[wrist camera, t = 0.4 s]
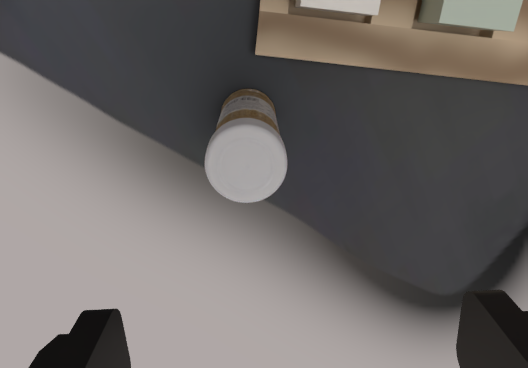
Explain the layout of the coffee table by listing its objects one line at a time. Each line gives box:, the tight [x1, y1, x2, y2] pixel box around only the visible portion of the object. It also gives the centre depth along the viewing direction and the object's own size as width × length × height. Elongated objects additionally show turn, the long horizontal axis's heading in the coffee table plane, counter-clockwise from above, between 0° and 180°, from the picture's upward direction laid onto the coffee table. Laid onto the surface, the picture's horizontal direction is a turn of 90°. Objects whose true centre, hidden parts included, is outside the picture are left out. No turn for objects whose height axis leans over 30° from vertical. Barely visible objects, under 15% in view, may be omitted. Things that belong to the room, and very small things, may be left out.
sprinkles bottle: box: [205, 89, 287, 203], centre depth 30 cm, size 5×5×14 cm
